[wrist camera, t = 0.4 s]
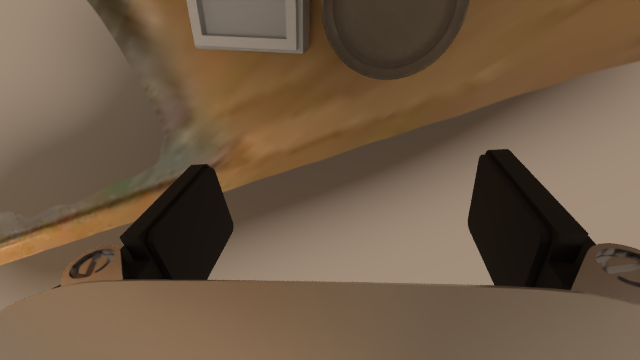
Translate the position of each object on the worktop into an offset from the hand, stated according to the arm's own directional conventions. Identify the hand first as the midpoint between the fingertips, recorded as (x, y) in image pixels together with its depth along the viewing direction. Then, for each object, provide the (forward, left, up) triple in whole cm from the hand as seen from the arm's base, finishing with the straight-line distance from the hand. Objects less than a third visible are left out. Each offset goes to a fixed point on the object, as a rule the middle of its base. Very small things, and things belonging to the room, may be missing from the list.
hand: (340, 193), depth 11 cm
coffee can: (-5, +3, -30) cm, 31 cm away
